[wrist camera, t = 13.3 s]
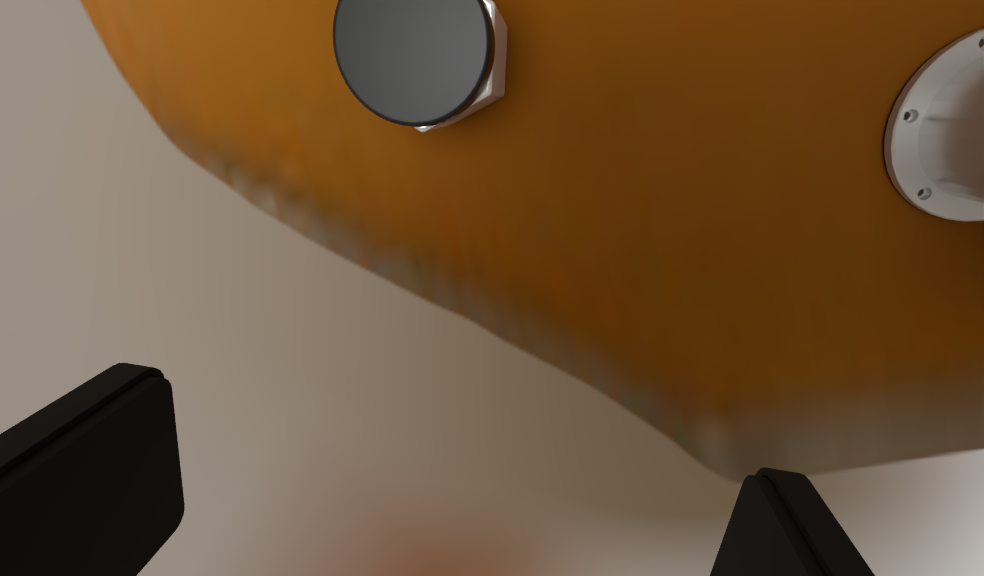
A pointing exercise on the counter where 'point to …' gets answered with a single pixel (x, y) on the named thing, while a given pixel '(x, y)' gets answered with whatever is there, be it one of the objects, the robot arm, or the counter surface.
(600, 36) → the counter surface
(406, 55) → the jar
